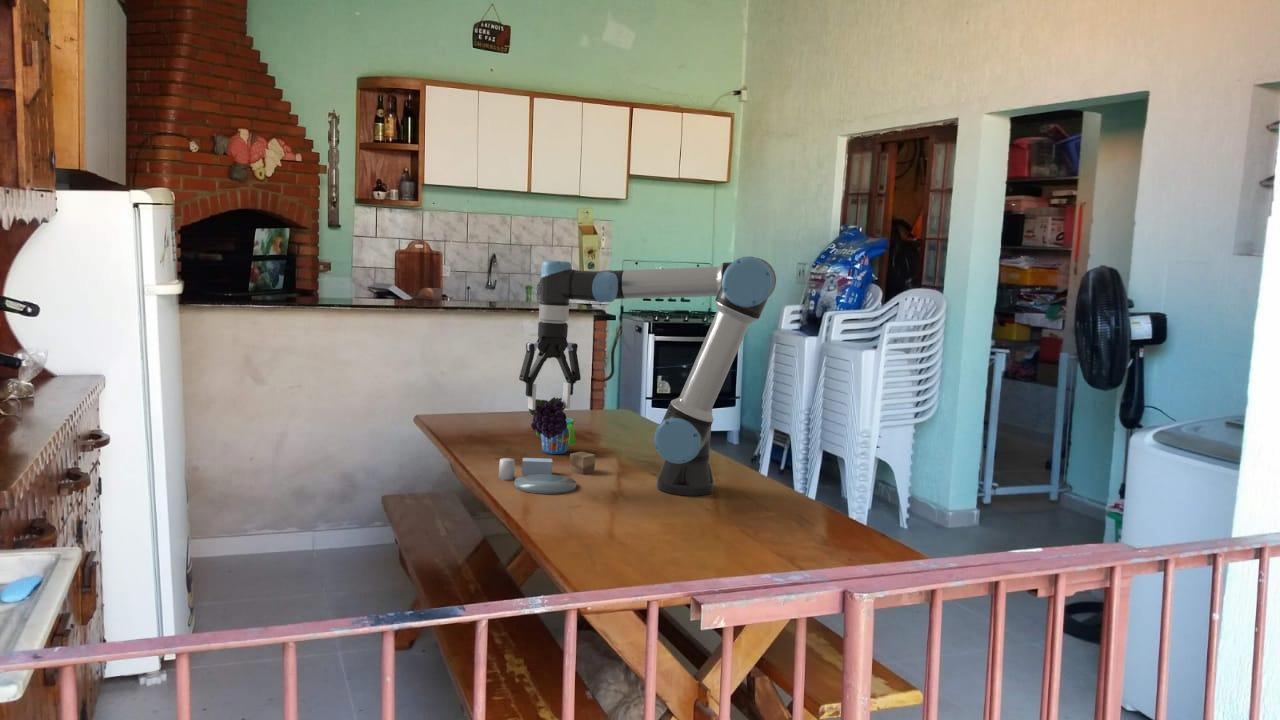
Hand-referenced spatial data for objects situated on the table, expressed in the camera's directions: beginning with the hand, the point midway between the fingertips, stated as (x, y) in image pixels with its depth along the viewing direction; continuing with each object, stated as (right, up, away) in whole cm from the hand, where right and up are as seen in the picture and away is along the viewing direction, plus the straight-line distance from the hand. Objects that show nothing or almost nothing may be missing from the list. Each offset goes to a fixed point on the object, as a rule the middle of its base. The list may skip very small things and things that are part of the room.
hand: (548, 408), depth 241 cm
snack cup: (-2, -16, +43) cm, 46 cm away
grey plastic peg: (-12, -19, +8) cm, 24 cm away
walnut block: (+7, -19, +21) cm, 29 cm away
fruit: (0, -7, +1) cm, 7 cm away
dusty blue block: (-5, -19, +15) cm, 25 cm away
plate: (-1, -20, +2) cm, 21 cm away
